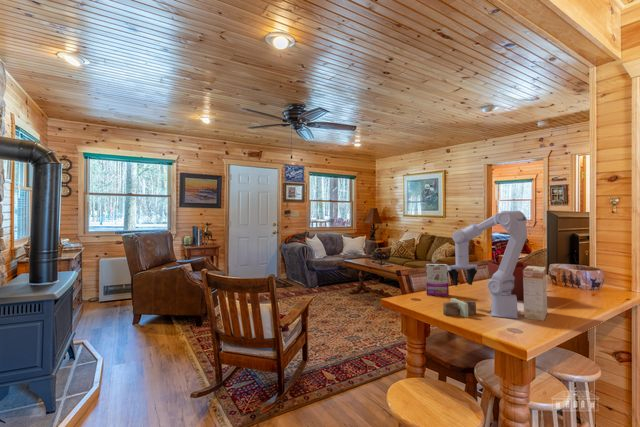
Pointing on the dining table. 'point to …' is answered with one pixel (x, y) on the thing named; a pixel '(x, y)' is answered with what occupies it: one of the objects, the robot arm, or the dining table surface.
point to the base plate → (453, 309)
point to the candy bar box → (437, 279)
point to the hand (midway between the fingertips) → (462, 285)
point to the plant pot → (517, 274)
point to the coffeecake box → (535, 292)
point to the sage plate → (461, 307)
